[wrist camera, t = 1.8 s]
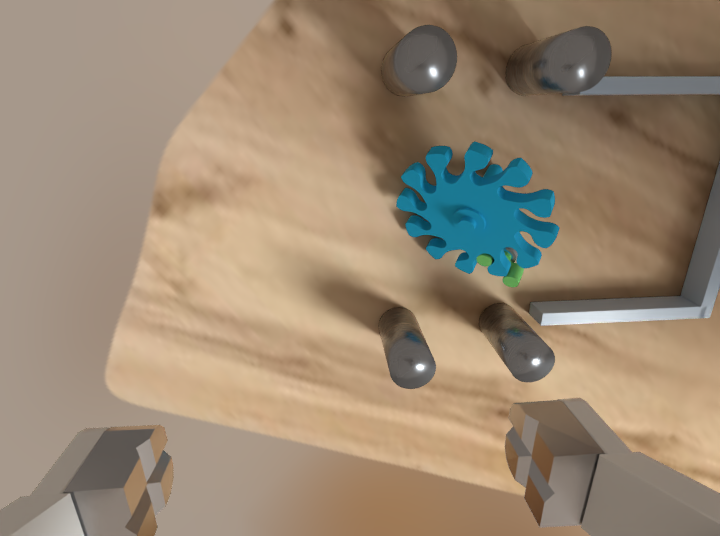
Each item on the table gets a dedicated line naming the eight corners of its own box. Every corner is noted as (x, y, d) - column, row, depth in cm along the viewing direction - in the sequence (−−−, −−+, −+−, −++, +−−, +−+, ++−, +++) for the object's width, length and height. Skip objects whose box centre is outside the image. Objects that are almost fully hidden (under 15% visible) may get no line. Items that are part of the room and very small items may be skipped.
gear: (364, 178, 27) (514, 132, 20) (403, 129, 30) (545, 74, 23) (441, 295, 32) (582, 292, 25) (468, 242, 35) (600, 227, 28)
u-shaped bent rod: (757, 78, 28) (788, 76, 26) (688, 306, 34) (709, 317, 32) (564, 78, 27) (582, 76, 25) (528, 313, 33) (541, 325, 31)
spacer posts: (554, 44, 26) (616, 26, 21) (513, 336, 34) (550, 381, 28) (381, 43, 26) (397, 24, 20) (378, 342, 33) (389, 390, 27)
